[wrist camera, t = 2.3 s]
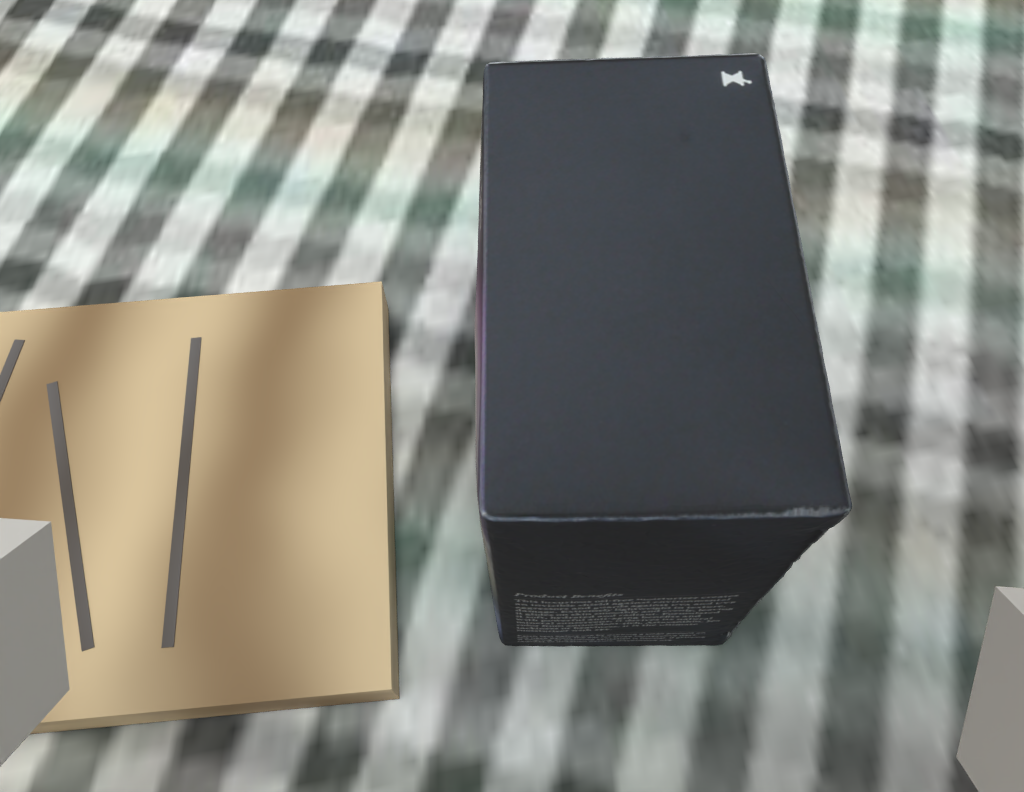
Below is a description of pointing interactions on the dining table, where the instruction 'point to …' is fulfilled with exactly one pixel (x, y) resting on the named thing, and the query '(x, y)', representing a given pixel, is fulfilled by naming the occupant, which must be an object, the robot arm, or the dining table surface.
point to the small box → (643, 352)
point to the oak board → (209, 498)
